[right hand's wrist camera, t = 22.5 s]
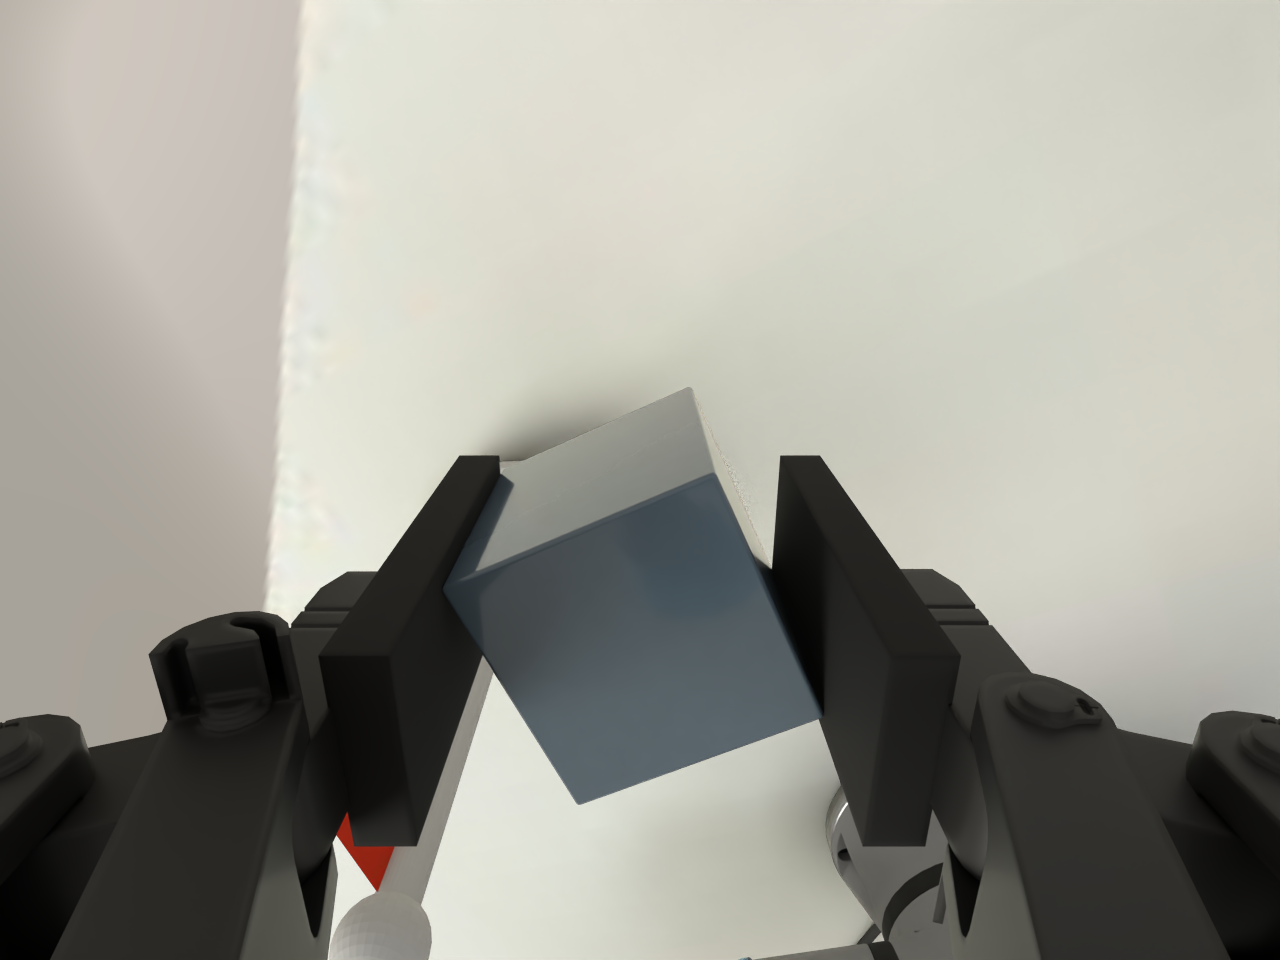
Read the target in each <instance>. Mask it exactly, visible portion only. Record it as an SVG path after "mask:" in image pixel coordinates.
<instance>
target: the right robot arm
mask: <svg viewBox="0 0 1280 960" xmlns="http://www.w3.org/2000/svg"><path fill="white" fill-rule="evenodd" d="M499 476H500V461H499V456H459V457H458V459H457V460H456V461H455V463H454V464H453V466H452V467H451V469H450V470H449V471H448V473H447V474H446V476H445V477H444V478H443V480H442V481H441V483H440V484H439V485H438V487H437V488H436V490H435V491H434V493H433V494H432V495H431V497H430V498H429V500H428V501H427V502H426V504H425V505H424V507H423V508H422V510H421V511H420V512H419V514H418V515H417V517H416V518H415V519H414V521H413V522H412V524H411V525H410V527H409V528H408V529H407V531H406V532H405V534H404V535H403V536H402V538H401V539H400V541H399V542H398V543H397V545H396V546H395V548H394V549H393V551H392V552H391V553H390V555H389V556H388V558H387V559H386V560H385V562H384V563H383V565H382V566H381V568H380V569H379V570H378V572H346V573H345V574H343V575H341V576H340V577H338V578H336V579H335V580H333V581H332V582H330V583H328V584H327V585H325V586H323V587H322V588H320V590H319V591H318V592H317V593H316V594H315V596H314V597H313V598H312V599H311V601H310V602H309V603H308V604H307V605H306V607H305V611H301V613H300V614H299V615H298V616H297V618H296V619H295V620H294V621H293V622H292V624H291V628H289V626H288V623H287V622H286V621H285V620H283V619H282V618H281V617H279V616H278V615H275V614H270V613H265V612H260V611H251V612H233V613H229V614H224V615H219V616H214V617H210V618H207V619H204V620H202V621H199V622H196V623H194V624H191V625H188V626H186V627H183V628H182V629H180V630H178V631H177V632H175V633H173V634H172V635H170V636H168V637H167V638H165V639H163V640H162V641H161V642H160V643H159V644H158V645H157V646H156V647H155V648H154V649H153V650H152V651H151V652H150V653H149V658H150V661H151V665H152V668H153V672H154V675H155V679H156V682H157V686H158V689H159V693H160V696H161V699H162V703H163V706H164V710H165V713H166V717H167V723H166V725H165V726H164V729H163V731H162V732H160V733H156V734H153V735H149V736H144V737H139V738H135V739H129V740H125V741H120V742H115V743H110V744H105V745H100V746H95V747H90V748H88V747H87V744H86V741H85V738H84V735H83V732H82V730H81V727H80V725H79V724H78V723H76V722H75V721H74V720H72V719H71V718H70V717H67V716H59V715H51V714H45V715H38V716H30V717H23V718H17V719H12V720H8V721H6V722H5V723H2V722H1V723H0V960H327V958H328V950H329V942H330V934H331V926H332V918H333V910H334V902H335V894H336V886H337V878H338V872H337V865H336V858H335V853H334V848H333V841H334V839H335V837H336V835H337V832H338V830H339V828H340V826H341V824H342V822H343V820H344V818H345V816H346V814H347V812H348V817H349V822H350V828H351V833H352V838H353V844H354V847H417V844H418V841H419V839H420V836H421V833H422V830H423V827H424V824H425V821H426V818H427V815H428V812H429V810H430V807H431V804H432V801H433V798H434V795H435V792H436V789H437V786H438V784H439V781H440V778H441V775H442V772H443V769H444V766H445V763H446V760H447V757H448V755H449V752H450V749H451V746H452V743H453V740H454V737H455V734H456V731H457V728H458V726H459V723H460V720H461V717H462V714H463V711H464V708H465V705H466V702H467V699H468V697H469V694H470V691H471V688H472V685H473V682H474V679H475V676H476V673H477V670H478V668H479V665H480V662H481V659H482V656H483V655H482V653H481V651H480V650H479V648H478V647H477V645H476V644H475V642H474V640H473V639H472V637H471V636H470V634H469V632H468V631H467V629H466V628H465V626H464V625H463V623H462V621H461V620H460V618H459V617H458V615H457V613H456V612H455V610H454V609H453V607H452V606H451V604H450V602H449V601H448V599H447V598H446V596H445V594H444V593H443V590H442V587H443V585H444V583H445V581H446V579H447V577H448V575H449V573H450V571H451V569H452V567H453V565H454V563H455V561H456V559H457V558H458V556H459V554H460V552H461V550H462V548H463V546H464V544H465V542H466V540H467V538H468V536H469V534H470V532H471V530H472V528H473V526H474V525H475V523H476V521H477V519H478V517H479V515H480V513H481V511H482V509H483V507H484V505H485V503H486V501H487V499H488V497H489V495H490V493H491V492H492V490H493V488H494V486H495V484H496V482H497V480H498V478H499ZM772 571H773V574H774V576H775V579H776V582H777V585H778V588H779V590H780V593H781V596H782V599H783V601H784V604H785V607H786V610H787V612H788V615H789V618H790V621H791V623H792V626H793V629H794V632H795V635H796V637H797V640H798V643H799V646H800V648H801V651H802V654H803V657H804V659H805V662H806V665H807V668H808V671H809V673H810V676H811V679H812V682H813V684H814V687H815V690H816V693H817V695H818V698H819V701H820V704H821V706H822V709H823V717H822V718H820V719H819V721H820V724H821V727H822V730H823V733H824V736H825V739H826V742H827V744H828V747H829V750H830V753H831V756H832V759H833V762H834V765H835V768H836V771H837V773H838V776H839V779H840V782H841V785H842V786H841V787H840V789H839V790H838V792H837V793H836V795H835V796H834V798H833V800H832V802H831V805H830V807H829V810H828V814H827V819H826V836H827V841H828V844H829V848H830V851H831V855H832V858H833V862H834V864H835V867H836V869H837V871H838V873H839V874H840V876H841V877H842V879H843V880H844V881H845V883H846V884H847V886H848V887H849V888H850V890H851V891H852V892H853V894H854V895H855V896H856V898H857V899H858V901H859V902H860V903H861V905H862V906H863V907H864V909H865V910H866V912H867V913H868V914H869V916H870V917H871V918H872V920H873V921H874V923H875V924H874V925H873V926H872V927H871V928H870V929H869V930H868V931H867V933H866V934H865V935H864V936H863V938H862V939H861V940H860V941H859V942H858V944H857V945H852V946H845V947H838V948H831V949H824V950H818V951H811V952H804V953H797V954H790V955H783V956H776V957H769V958H762V959H755V960H1280V719H1278V720H1277V719H1275V717H1271V716H1266V715H1262V714H1254V713H1246V712H1239V711H1226V712H1218V713H1211V714H1210V715H1209V716H1207V717H1206V718H1205V719H1203V720H1202V721H1201V722H1200V724H1199V727H1198V730H1197V733H1196V736H1195V739H1194V742H1193V745H1191V744H1186V743H1182V742H1177V741H1172V740H1167V739H1162V738H1157V737H1152V736H1147V735H1142V734H1137V733H1132V732H1128V731H1124V730H1121V729H1117V727H1116V725H1115V723H1114V721H1113V719H1112V718H1111V717H1110V715H1109V714H1108V713H1107V712H1106V710H1105V709H1104V708H1103V707H1102V705H1101V704H1100V703H1098V702H1097V701H1096V700H1094V699H1093V698H1091V697H1090V696H1088V695H1087V694H1086V693H1084V692H1083V691H1081V690H1080V689H1078V688H1075V687H1073V686H1071V685H1068V684H1066V683H1064V682H1062V681H1059V680H1057V679H1054V678H1050V677H1046V676H1042V675H1038V674H1034V673H1031V672H1030V670H1029V669H1028V668H1027V667H1026V666H1025V664H1024V663H1023V662H1022V661H1021V660H1020V658H1019V657H1018V656H1017V655H1016V654H1015V652H1014V651H1013V650H1012V649H1011V647H1010V646H1009V645H1008V644H1007V643H1006V641H1005V640H1004V639H1003V638H1002V637H1001V635H1000V634H999V633H998V632H997V631H996V629H995V628H994V627H993V626H992V625H989V621H988V620H987V619H986V617H985V616H984V615H983V614H982V613H981V611H980V610H979V609H975V604H974V603H973V602H972V601H971V599H970V598H969V597H968V596H967V594H966V593H965V592H964V591H963V590H962V588H961V587H960V586H959V585H957V584H956V583H954V582H952V581H951V580H949V579H947V578H946V577H944V576H942V575H941V574H939V573H938V572H936V571H934V570H933V569H900V568H899V567H898V566H897V564H896V563H895V561H894V560H893V558H892V557H891V556H890V554H889V553H888V551H887V550H886V549H885V547H884V546H883V544H882V543H881V541H880V540H879V539H878V537H877V536H876V534H875V533H874V532H873V530H872V529H871V527H870V526H869V524H868V523H867V522H866V520H865V519H864V517H863V516H862V515H861V513H860V512H859V510H858V509H857V507H856V506H855V505H854V503H853V502H852V500H851V499H850V498H849V496H848V495H847V493H846V492H845V490H844V489H843V488H842V486H841V485H840V483H839V482H838V481H837V479H836V478H835V476H834V475H833V474H832V472H831V471H830V469H829V468H828V466H827V465H826V464H825V462H824V461H823V459H822V458H821V457H820V456H780V468H779V481H778V495H777V508H776V522H775V535H774V549H773V563H772ZM881 932H882V935H883V938H884V940H885V941H882V942H875V943H872V942H873V941H874V939H875V938H876V937H877V936H878V935H879V934H880V933H881ZM739 960H752V959H751V958H749V957H748V958H742V959H739Z"/></svg>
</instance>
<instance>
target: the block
mask: <svg viewBox="0 0 1280 960" xmlns="http://www.w3.org/2000/svg"><path fill="white" fill-rule="evenodd" d="M442 590H443V593H444V594H445V596H446V598H447V599H448V601H449V602H450V604H451V606H452V607H453V609H454V610H455V612H456V613H457V615H458V617H459V618H460V620H461V621H462V623H463V625H464V626H465V628H466V629H467V631H468V632H469V634H470V636H471V637H472V639H473V640H474V642H475V644H476V645H477V647H478V648H479V650H480V651H481V653H482V655H483V656H484V658H485V659H486V661H487V663H488V664H489V666H490V667H491V669H492V670H493V672H494V674H495V675H496V677H497V678H498V680H499V681H500V683H501V685H502V686H503V688H504V689H505V691H506V693H507V694H508V696H509V697H510V699H511V700H512V702H513V704H514V705H515V707H516V708H517V710H518V712H519V713H520V715H521V716H522V718H523V719H524V721H525V723H526V724H527V726H528V727H529V729H530V731H531V732H532V734H533V735H534V737H535V738H536V740H537V742H538V743H539V745H540V746H541V748H542V750H543V751H544V753H545V754H546V756H547V757H548V759H549V761H550V762H551V764H552V765H553V767H554V769H555V770H556V772H557V773H558V775H559V776H560V778H561V780H562V781H563V783H564V784H565V786H566V788H567V789H568V791H569V792H570V794H571V795H572V797H573V799H574V800H575V802H576V803H577V804H578V805H581V804H584V803H587V802H589V801H592V800H595V799H598V798H601V797H603V796H606V795H609V794H612V793H614V792H617V791H620V790H623V789H626V788H628V787H631V786H634V785H637V784H639V783H642V782H645V781H648V780H651V779H653V778H656V777H659V776H662V775H664V774H667V773H670V772H673V771H676V770H678V769H681V768H684V767H687V766H689V765H692V764H695V763H698V762H701V761H703V760H706V759H709V758H712V757H714V756H717V755H720V754H723V753H726V752H728V751H731V750H734V749H737V748H739V747H742V746H745V745H748V744H751V743H753V742H756V741H759V740H762V739H764V738H767V737H770V736H773V735H775V734H778V733H781V732H784V731H787V730H789V729H792V728H795V727H798V726H800V725H803V724H806V723H809V722H812V721H814V720H817V719H820V718H822V717H823V709H822V706H821V704H820V701H819V698H818V695H817V693H816V690H815V687H814V684H813V682H812V679H811V676H810V673H809V671H808V668H807V665H806V662H805V659H804V657H803V654H802V651H801V648H800V646H799V643H798V640H797V637H796V635H795V632H794V629H793V626H792V623H791V621H790V618H789V615H788V612H787V610H786V607H785V604H784V601H783V599H782V596H781V593H780V590H779V588H778V585H777V582H776V579H775V576H774V574H773V571H772V568H771V565H770V563H769V561H768V559H767V556H766V554H765V552H764V550H763V547H762V545H761V543H760V540H759V538H758V536H757V534H756V531H755V529H754V527H753V525H752V522H751V520H750V518H749V516H748V513H747V511H746V509H745V507H744V504H743V502H742V500H741V497H740V495H739V493H738V491H737V488H736V486H735V484H734V482H733V479H732V477H731V475H730V473H729V470H728V468H727V466H726V464H725V461H724V459H723V457H722V454H721V452H720V450H719V448H718V445H717V443H716V441H715V439H714V436H713V434H712V432H711V430H710V427H709V425H708V423H707V420H706V418H705V416H704V414H703V411H702V409H701V407H700V405H699V402H698V400H697V398H696V396H695V393H694V391H693V389H692V388H691V387H687V388H685V389H683V390H681V391H678V392H676V393H674V394H672V395H669V396H667V397H665V398H663V399H660V400H658V401H656V402H654V403H651V404H649V405H647V406H645V407H642V408H640V409H638V410H636V411H633V412H631V413H629V414H627V415H624V416H622V417H620V418H618V419H615V420H613V421H611V422H609V423H606V424H604V425H602V426H600V427H597V428H595V429H593V430H591V431H588V432H586V433H584V434H582V435H579V436H577V437H575V438H573V439H570V440H568V441H566V442H564V443H561V444H559V445H557V446H555V447H552V448H550V449H548V450H546V451H543V452H541V453H539V454H537V455H534V456H532V457H530V458H528V459H525V460H523V461H521V462H519V463H516V464H514V465H512V466H510V467H507V468H505V469H503V471H502V472H501V474H500V476H499V478H498V480H497V482H496V484H495V486H494V488H493V490H492V492H491V493H490V495H489V497H488V499H487V501H486V503H485V505H484V507H483V509H482V511H481V513H480V515H479V517H478V519H477V521H476V523H475V525H474V526H473V528H472V530H471V532H470V534H469V536H468V538H467V540H466V542H465V544H464V546H463V548H462V550H461V552H460V554H459V556H458V558H457V559H456V561H455V563H454V565H453V567H452V569H451V571H450V573H449V575H448V577H447V579H446V581H445V583H444V585H443V587H442Z"/></svg>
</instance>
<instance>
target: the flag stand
mask: <svg viewBox="0 0 1280 960" xmlns="http://www.w3.org/2000/svg"><path fill="white" fill-rule="evenodd" d="M519 462H521V461H503V462H500V474H501V472H502V471H503V469H505V468H507V467H510V466H512V465H514V464H516V463H519ZM492 675H493V670H492V669H491V667H490V666H489V664H488V663H487V661H486V659H485V658H484V656H482V659H481V662H480V665H479V668H478V670H477V673H476V676H475V679H474V682H473V685H472V688H471V691H470V694H469V697H468V699H467V702H466V705H465V708H464V711H463V714H462V717H461V720H460V723H459V726H458V728H457V731H456V734H455V737H454V740H453V743H452V746H451V749H450V752H449V755H448V757H447V760H446V763H445V766H444V769H443V772H442V775H441V778H440V781H439V784H438V786H437V789H436V792H435V795H434V798H433V801H432V804H431V807H430V810H429V812H428V815H427V818H426V821H425V824H424V827H423V830H422V833H421V836H420V839H419V841H418V844H417V847H354V844H353V838H352V833H351V828H350V822H349V817H348V812H347V814H346V816H345V818H344V820H343V822H342V824H341V826H340V828H339V830H338V832H337V837H338V838H339V839H340V841H341V842H342V844H343V845H344V846H345V848H346V849H347V851H348V852H349V853H350V855H351V856H352V857H353V859H354V860H355V862H356V863H357V864H358V866H359V867H360V869H361V870H362V871H363V873H364V874H365V876H366V877H367V878H368V880H369V881H370V883H371V884H372V885H373V887H374V888H375V890H376V892H375V894H373V895H370V896H368V897H366V898H364V899H362V900H361V901H360V902H358V903H357V904H356V905H354V906H353V907H352V908H351V909H350V910H349V911H348V912H347V914H346V915H345V916H344V917H343V919H342V920H341V921H340V923H339V925H338V927H337V929H336V931H335V933H334V935H333V939H332V942H331V946H330V955H329V960H428V959H429V954H430V949H431V943H432V938H431V926H430V923H429V920H428V917H427V914H426V913H425V911H424V910H423V908H422V907H421V903H422V900H423V897H424V893H425V890H426V887H427V884H428V881H429V877H430V874H431V871H432V868H433V865H434V861H435V858H436V855H437V852H438V849H439V845H440V842H441V839H442V836H443V833H444V829H445V826H446V823H447V820H448V817H449V813H450V810H451V807H452V804H453V801H454V797H455V794H456V791H457V788H458V784H459V781H460V778H461V775H462V772H463V768H464V765H465V762H466V759H467V756H468V752H469V749H470V746H471V743H472V740H473V736H474V733H475V730H476V727H477V724H478V720H479V717H480V714H481V711H482V708H483V704H484V701H485V698H486V695H487V692H488V688H489V685H490V682H491V679H492Z"/></svg>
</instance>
